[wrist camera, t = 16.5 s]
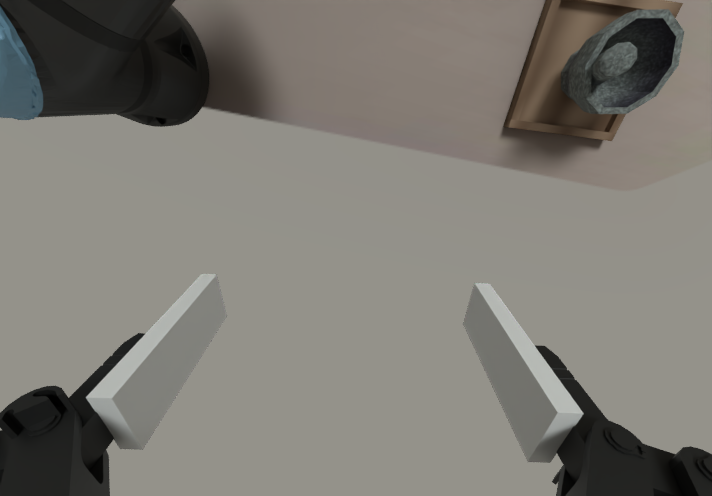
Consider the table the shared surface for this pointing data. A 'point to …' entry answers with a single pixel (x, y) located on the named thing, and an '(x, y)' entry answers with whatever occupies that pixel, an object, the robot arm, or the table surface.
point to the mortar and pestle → (624, 62)
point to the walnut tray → (550, 54)
